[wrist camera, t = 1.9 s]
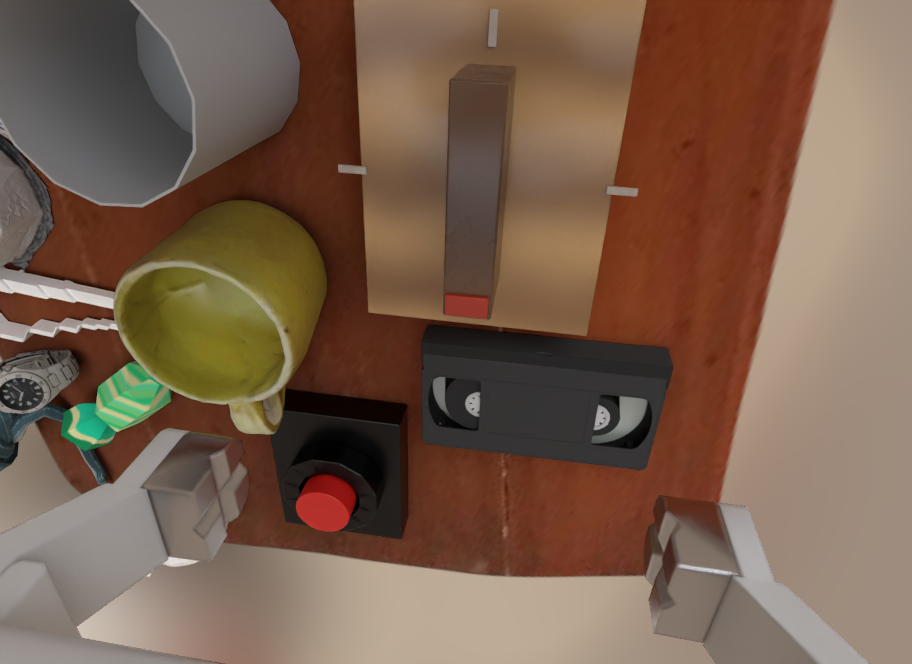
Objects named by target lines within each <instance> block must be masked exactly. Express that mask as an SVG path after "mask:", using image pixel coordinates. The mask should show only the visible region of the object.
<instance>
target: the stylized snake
mask: <svg viewBox="0 0 912 664" xmlns="http://www.w3.org/2000/svg"><path fill="white" fill-rule="evenodd" d="M65 411H67V409H64V408H61V407H59V406H56V405H53V404H50V403H48V404H47V405H45V406H44V407H43V408H41V409H39V410H37V411H34V412H31V413H24V414H19V413H6V412H3V411H1V410H0V471H1V470H3V469H5V468H6V467H7V466H9V465H11V464H12V462H13V461H14V460H15V458H16V457H17V454H18V443H19V441H20V440H22V437H23V436H24V434H25V432H26V429H27V427H28V425H29V424H31V423H33V422H35V421H37V420H39V419H41V418H43V417H48V418H51V419H54V420H57V421H60V422H63V416H64V412H65ZM77 447H78V446H77ZM78 449H79V451H80V453H81V455H82V456H83V458H84V460H85V462H86V463H87V464H88V466H89V467H90V468H91V470H92V471H93V473H94V475H95V478H96V480H97V482H98V483H99V484H100V485H103V484H105V483H108V478H107V472H106V470H105V469H104V467H103V466H102V464H101V463H100V461H99V460H98V458H97V457H96V454H95V452H94V450H93V449H91V450H87V451H84V450H82V449H81V448H79V447H78Z"/></svg>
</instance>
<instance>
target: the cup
mask: <svg viewBox="0 0 912 664" xmlns="http://www.w3.org/2000/svg"><path fill="white" fill-rule="evenodd" d="M299 74H300V61H299V58H298V55H297V52H296V49H295V46H294V43H293V40H292V37H291V33H290V30H289V27H288V24H287V21H286V20H285V19H284V18H283V16H282V15H281V14H280V13H279V12H278V10H277V9H276V8H275V7H274V5H273V4H272V3H271V2H270V0H0V122H1V124H2V126H3V128H4V129H5V131H6V133H7V134H8V136H9V138H10V140H11V141H12V143H13V145H14V146H15V147H16V148H17V149H18V150H19V151H20V152H21V153H23V154H24V155H25V156H26V157H27V158H28V159H29V160H30V161H31V162H32V163H33V164H34V165H35V166H36V167H37V168H38V169H39V170H40V171H42V172H43V173H44V174H45V175H46V176H47V177H48V178H49V179H50V180H51V181H52V182H53V183H54V184H56V185H58V186H60V187H62V188H65V189H67V190H69V191H71V192H73V193H75V194H77V195H79V196H81V197H83V198H85V199H87V200H90V201H92V202H94V203H96V204H98V205H105V206H125V207H144V206H146V205H148V204H150V203H151V202H153V201H155V200H157V199H159V198H161V197H163V196H165V195H166V194H168V193H170V192H172V191H174V190H176V189H178V188H179V187H181V186H183V185H185V184H186V183H188V182H190V181H192V180H194V179H195V178H197V177H199V176H201V175H202V174H204V173H206V172H208V171H210V170H211V169H213V168H215V167H217V166H219V165H220V164H222V163H224V162H226V161H227V160H229V159H231V158H233V157H235V156H236V155H238V154H240V153H242V152H243V151H245V150H247V149H249V148H251V147H252V146H254V145H256V144H258V143H259V142H261V141H263V140H265V139H267V138H268V137H270V136H272V135H274V134H276V133H277V132H279V131H281V129H282V127H283V126H284V124H285V122H286V121H287V119H288V117H289V115H290V114H291V112H292V110H293V109H294V107H295V105H296V104H297V102H298V88H299Z"/></svg>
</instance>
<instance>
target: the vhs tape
mask: <svg viewBox="0 0 912 664" xmlns="http://www.w3.org/2000/svg"><path fill="white" fill-rule="evenodd" d="M421 352H422V364H424V365H423V368H422V439H423V441H424V442H425V443H427V444H431V445H439V446H447V447H456V448H464V449H472V450H480V451H489V452H497V453H505V454H513V455H521V456H530V457H538V458H546V459H554V460H562V461H571V462H579V463H587V464H595V465H603V466H612V467H620V468H628V469H636V470H642V469H644V468H646V467H647V464H648V460H649V456H650V453H651V449H652V445H653V441H654V438H655V434H656V430H657V426H658V422H659V419H660V415H661V411H662V407H663V404H664V400H665V391H666V390H667V389H668V386H669V382H670V378H671V374H672V370H673V365H672V361H671V358H670V354H669V351H668V348H659V347H649V346H639V345H629V344H618V343H608V342H598V341H587V340H577V339H567V338H556V337H549V338H547V337H541V336H536V335H526V334H516V333H506V332H496V331H486V330H476V329H465V328H455V327H445V326H435V325H428V326H427V328H426V331H425V334H424V336H423V339H422V342H421Z"/></svg>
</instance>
